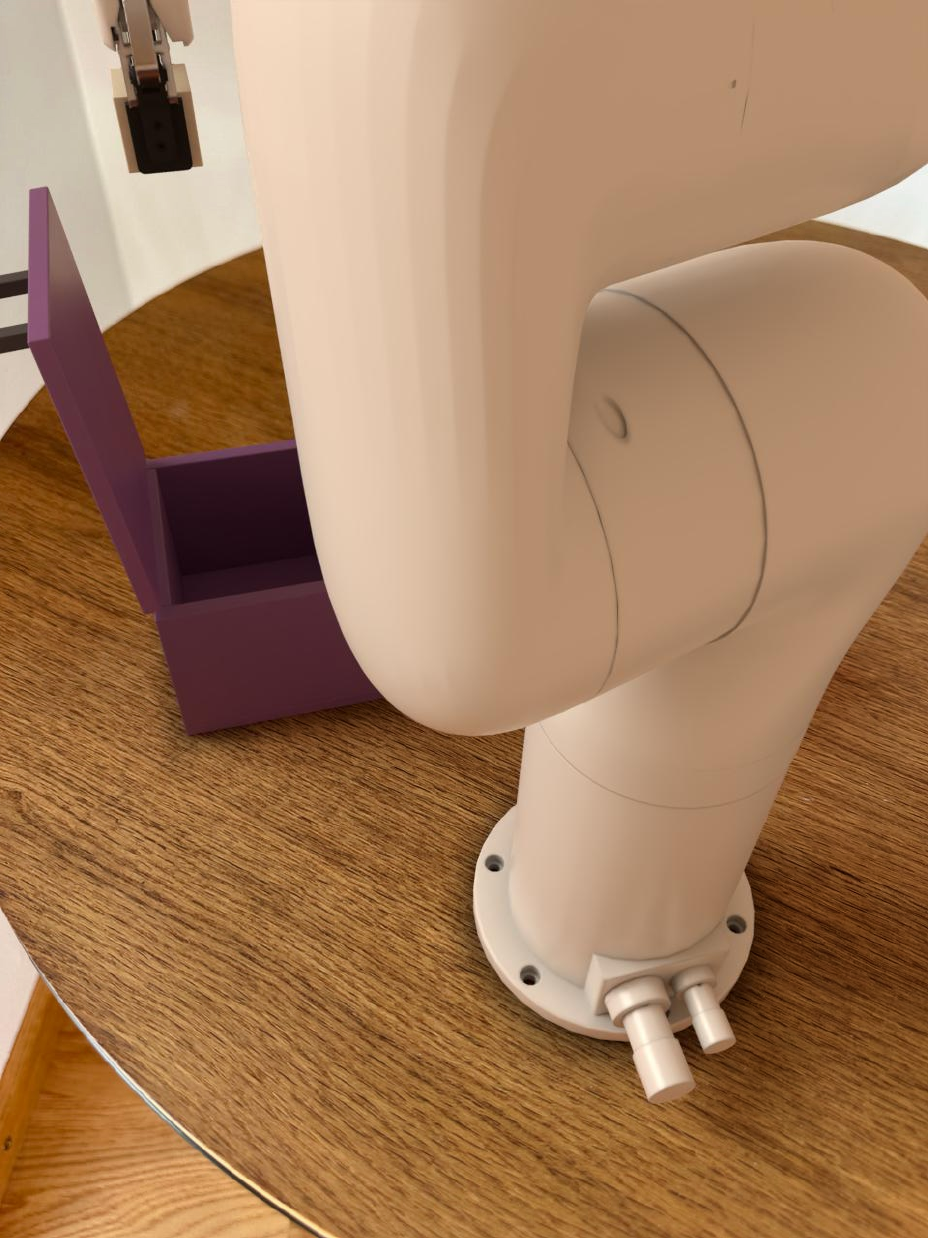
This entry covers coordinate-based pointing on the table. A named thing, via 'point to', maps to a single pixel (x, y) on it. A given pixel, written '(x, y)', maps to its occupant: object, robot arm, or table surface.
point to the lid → (84, 391)
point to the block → (182, 91)
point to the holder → (245, 591)
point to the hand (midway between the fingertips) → (162, 148)
